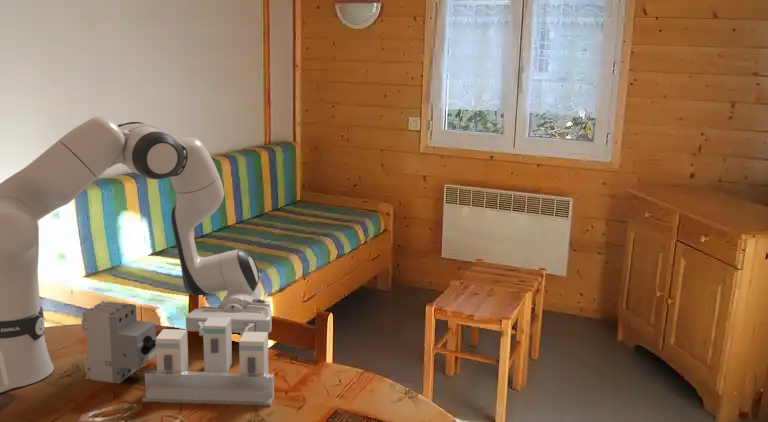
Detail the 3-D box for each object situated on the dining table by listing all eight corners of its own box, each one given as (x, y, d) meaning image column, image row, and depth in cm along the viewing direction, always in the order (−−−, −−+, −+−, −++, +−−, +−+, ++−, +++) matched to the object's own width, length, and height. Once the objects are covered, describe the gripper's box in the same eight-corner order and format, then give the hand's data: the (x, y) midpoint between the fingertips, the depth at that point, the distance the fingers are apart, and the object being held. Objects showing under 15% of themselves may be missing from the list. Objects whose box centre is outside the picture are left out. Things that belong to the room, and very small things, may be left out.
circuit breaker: (146, 386, 148) (143, 319, 145) (85, 379, 151) (80, 312, 147) (164, 371, 155) (161, 307, 152) (105, 364, 158) (101, 301, 155)
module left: (156, 394, 145) (154, 340, 142) (165, 381, 150) (163, 329, 148) (181, 395, 145) (179, 340, 142) (189, 382, 150) (187, 329, 148)
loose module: (203, 374, 155) (202, 327, 152) (210, 362, 160) (208, 317, 158) (226, 374, 155) (225, 327, 152) (232, 363, 160) (231, 317, 158)
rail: (141, 401, 142) (140, 378, 141) (148, 392, 146) (147, 370, 144) (270, 405, 142) (270, 382, 141) (274, 396, 146) (273, 374, 144)
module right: (239, 397, 145) (238, 342, 142) (245, 384, 150) (244, 331, 148) (263, 397, 145) (263, 343, 142) (268, 384, 150) (268, 332, 148)
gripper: (193, 298, 175) (177, 319, 161) (275, 301, 175) (266, 322, 161) (194, 322, 176) (177, 345, 163) (275, 325, 176) (266, 348, 163)
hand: (222, 333), depth 162 cm, fingers open, 8 cm apart
